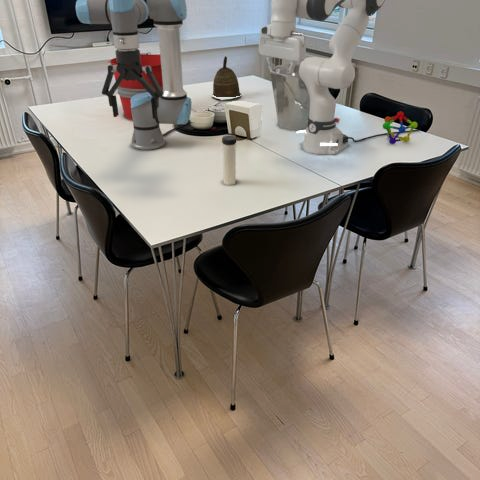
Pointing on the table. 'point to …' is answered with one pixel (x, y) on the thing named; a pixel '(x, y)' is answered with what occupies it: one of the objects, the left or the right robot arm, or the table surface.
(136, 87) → the bucket
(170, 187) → the table surface
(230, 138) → the lid
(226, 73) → the bell
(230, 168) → the jar
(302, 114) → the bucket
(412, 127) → the educational toy
